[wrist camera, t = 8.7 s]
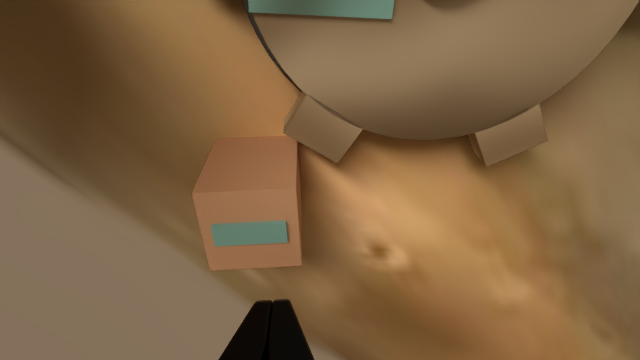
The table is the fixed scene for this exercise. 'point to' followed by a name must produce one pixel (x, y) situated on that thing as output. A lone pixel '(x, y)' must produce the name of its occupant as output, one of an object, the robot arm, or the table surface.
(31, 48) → the table surface
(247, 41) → the table surface
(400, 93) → the sprocket disc
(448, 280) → the table surface
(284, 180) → the link block
